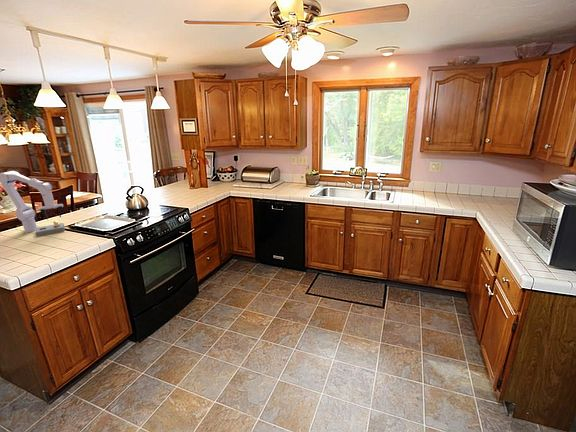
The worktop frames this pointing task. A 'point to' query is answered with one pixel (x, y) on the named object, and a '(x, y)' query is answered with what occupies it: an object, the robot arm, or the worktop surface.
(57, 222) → the brass pin
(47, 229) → the bore block
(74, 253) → the worktop surface
